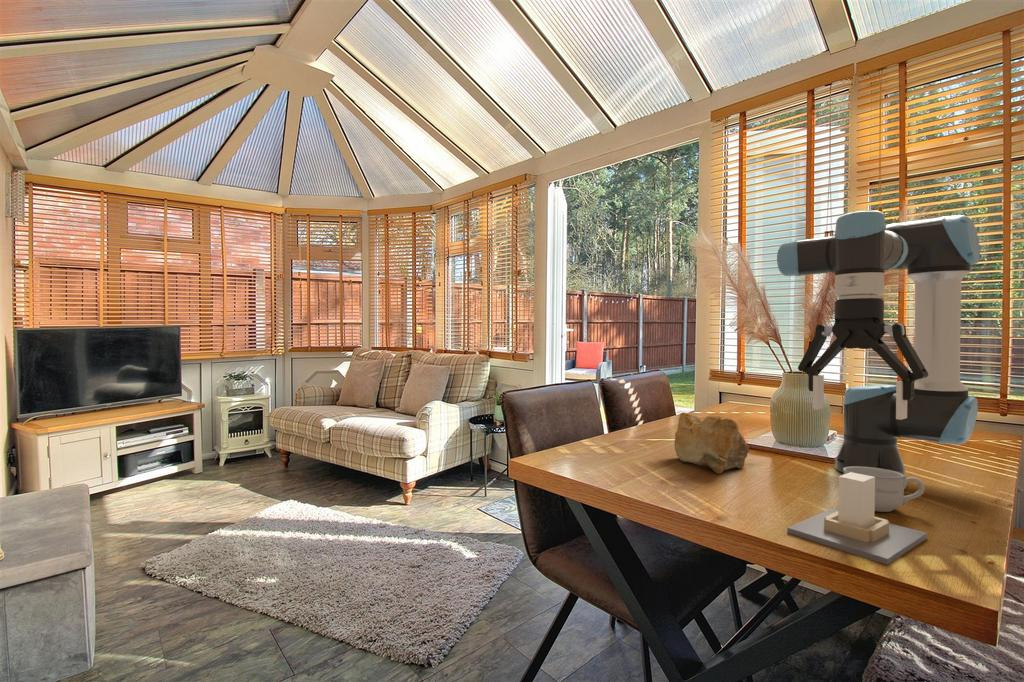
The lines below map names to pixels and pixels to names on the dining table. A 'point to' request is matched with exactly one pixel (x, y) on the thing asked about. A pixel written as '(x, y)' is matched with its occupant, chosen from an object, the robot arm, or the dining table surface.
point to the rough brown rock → (710, 442)
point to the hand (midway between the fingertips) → (857, 413)
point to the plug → (856, 500)
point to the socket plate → (859, 536)
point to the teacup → (888, 487)
